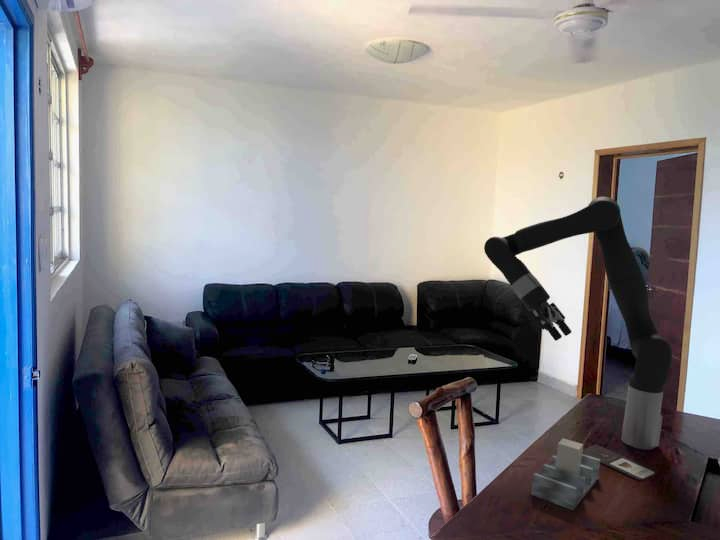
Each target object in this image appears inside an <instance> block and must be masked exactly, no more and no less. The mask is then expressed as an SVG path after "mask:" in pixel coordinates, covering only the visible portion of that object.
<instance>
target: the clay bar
mask: <svg viewBox="0 0 720 540" xmlns="http://www.w3.org/2000/svg"><path fill="white" fill-rule="evenodd" d="M583 449H584V444H583V443H580V442H577V441H574V440H570V439H567V438H564V437H563V438H562V439H561V440H560V441H559V442H558V443H557V451H556V456H557V457H556V465H555V467H556V468H559V469H561V470H564V471H567V472H570V473H573V474H576V475H579V476H580V468H581V460H582V452H583Z"/></svg>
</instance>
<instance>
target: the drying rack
mask: <svg viewBox="0 0 720 540" xmlns="http://www.w3.org/2000/svg"><path fill="white" fill-rule="evenodd" d="M556 457H557V455H552V456H551V460H550V461H551V463H550V464H547V463H544V464H543V465H542V468H541V469H542V471H541V474H539V473H537V472H534V473H533V474H532V484H531V490H530V492H531V493H530V495H532V496H534V497H537V498H539V499H542V500H545V501H547V502H550V503H553V504H554V505H557V506H560V507H563V508H565V509H568V510H570V511H574V510H575V508H577V506H578V504H579V503H580V502H581V501H582V500H581V499H583V498H584V497H585V496H586V495H587V494H588V493H589V491H590V490H591V488H592V487H593V486H594V485H595V483H596V482H597V481H598V480H599V473H600V468H601V464H600V461H601V460H600V459H597V458H594V457H591V456H588V455H584V454H582V460H581V468H580V476H579V475H576V474H573V473H570V472H567V471H564V470H561V469H559V468H556V467H555V465H556ZM596 480H597V481H596Z"/></svg>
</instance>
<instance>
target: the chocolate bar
mask: <svg viewBox="0 0 720 540" xmlns="http://www.w3.org/2000/svg"><path fill="white" fill-rule="evenodd" d="M582 454H584V455H588V456H591V457H594V458H597V459H600V460H601V461H600V463H601V464H600V465H602V464H603V466H604V467H607V466H608V467H607V468H609V467H610V468H609V469H611V468H612V469H611V470H613V469H614V470H613V471H615V470H616V472H618V473H620V472H621V473H620V474H621V475H624V476H627V477H629V478H630V477H631V478H630V479H633V480H635V479H636V480H635V481H637V482H640V481H641V482H642V481H643V480H645V479H647V478H649V476H650V477H652V476H654V475H656V474H658V470H656V469H653V468H651V467H649V466H646V465H644V464H642V463H639V462H637V461H635V460H634V459H631V458H628V457H626V456H624V455H621V454H619V453H617V452H615V451H613V450H611V449H607V448H605V447H603V446H601V445H599V444H596V443H595V444H594V445H590V446H588V447H585V448H583V452H582ZM655 473H656V474H655ZM653 474H654V475H653ZM651 475H652V476H651ZM646 477H647V478H646ZM644 478H645V479H644ZM642 479H643V480H642Z"/></svg>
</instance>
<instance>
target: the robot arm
mask: <svg viewBox="0 0 720 540" xmlns="http://www.w3.org/2000/svg"><path fill="white" fill-rule="evenodd" d="M621 214H622V213H621V207H620V206H619V204H618V202H617V201H616V200H614V199H613V198H611V197H608V196H598V197H596V198H594V199H593V200H591V201H590V203H588V205H587V206H585V207H584V208H582V209H580V210H577V211H575V212H574V213H571V214H569V215H568V214H567V215H566V216H563V217H559V218H555V219H550V220H546V221H542V222H541V221H540V222H538V223H535V224H531V225H529V226H525V227H523V228H520V229H518V230H516V231H515V232H514V233H512V234H509V235H506V236H503V237H500V236H492V237H489V238H488V239H487V240H486V241H485V243H484V247H483V249H484V250H483V251H484V253H485V255H486V257H487V258H488V260H490V262H491V263H492V264H493V265H494V266H495V267H496V269H498V270H499V271H500V272H501V273H502V275H503V277H504V278H505V280H506V281H507V283H509V285H510V286H511V288H512V289H513V291H514V293H515V294H516V296H517V297H518V298H519V300H520V301H521V303H523V305H524V306H525V308H526V309H527V311H529V312H530V313H531V314H530V315H532V317H533V318H534V320H535V321H536V323H537V324H538V326H539V327H540V329H541V330H542V331H544V330H545V331H547V332H548V333H549V334H550V336H551V337H552V339H553V340H554V341H559V340H560V339H562V334H563V335H564V336H565V337H567V336H569V335H570V334H572V330H571V328H570V327H569V326H568V325H567V323H566V320H565V319H566V316H565V315H564V314H563V312H561V310H560V309H559V308H558V306H557V305H556V304H555V303H554V302H551V303H550V302H548V300H550V297H551V296H550V294H549V293H548V291H547V290H546V289H545V288H544V286H543V285H542V284H541V282H540V281H539V279H537V278H536V276H535V275H534V274H533V273H532V272H531V271H530V270H529V268H528V267H527V265H526V264H525V263H524V262H523V261H522V260H521V259H519V258H518V257H517V255H520V254H522V253H525V252H529V251H533V250H536V249H538V248H541V247H544V246H548V245H550V244H553V243H556V242H558V241H562V240H565V239H568V238H572V237H576V236H580V235H581V236H582V235H585V234H587V235H588V234H592V233H594V234H595V235H596V237H597V240H598V242H599V245H600V249H601V252H602V253H601V254H602V260H603V266H604V270H605V273H606V277H607V282H608V284H609V287H610V290H611V293H612V295H613V297H614V300H615V304H616V306H617V308H618V310H619V311H620V314H621V317H622V318H623V321H624V323H625V328H626V331H627V332H626V333H627V336H628V337H627V338H628V340H629V345H630V349H631V353H632V355H633V356H634V357H635V359H636V360H635V366H634V372H633V373H632V374H631V375H630V376H629V381H628V388H627V393H626V395H627V396H626V403H625V409H624V417H623V422H622V423H623V425H622V431H621V439H620V440H621V442H623V443H624V444H626V445H627V446H630V447H632V448H636V449H639V450H648V451H649V450H653V449H655V448H657V447H659V445H660V437H661V432H662V431H661V430H662V425H663V423H662V422H663V415H662V414H661V411H662V409H661V408H662V405H663V404H662V402H663V396H664V390H665V389H664V388H665V386H666V384H667V382H668V379H669V376H670V371H671V364H672V360H673V359H672V357H673V351H672V347H671V345H670V343H669V342H668V341H667V340H666V339H665V338H663V337H661V336H660V334H659V332H658V330H657V328H656V326H655V323H654V321H653V319H652V317H651V313H650V308H649V307H650V306H649V305H650V304H649V293H648V288H647V287H648V286H647V284H646V281H645V278H644V274H643V272H642V270H641V267H640V265H639V263H638V260H637V256H636V255H635V253H634V251H633V249H632V247H631V245H630V243H629V241H628V238H627V235H626V232H625V228H624V224H623V219H622V215H621ZM554 324H555V325H557V327H558V328H559V329H560V331H561V332H562V334H561V333H560V332H559V330H558V329H557V328H556V326H555V325H554Z"/></svg>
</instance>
